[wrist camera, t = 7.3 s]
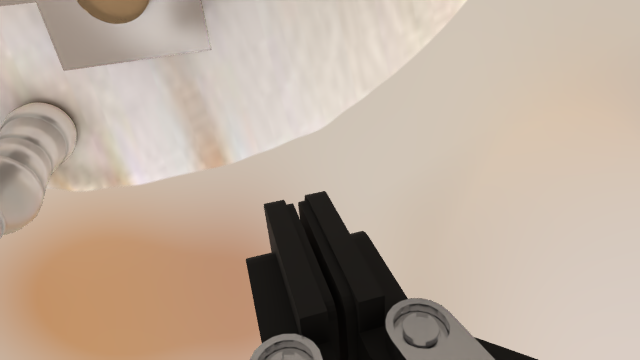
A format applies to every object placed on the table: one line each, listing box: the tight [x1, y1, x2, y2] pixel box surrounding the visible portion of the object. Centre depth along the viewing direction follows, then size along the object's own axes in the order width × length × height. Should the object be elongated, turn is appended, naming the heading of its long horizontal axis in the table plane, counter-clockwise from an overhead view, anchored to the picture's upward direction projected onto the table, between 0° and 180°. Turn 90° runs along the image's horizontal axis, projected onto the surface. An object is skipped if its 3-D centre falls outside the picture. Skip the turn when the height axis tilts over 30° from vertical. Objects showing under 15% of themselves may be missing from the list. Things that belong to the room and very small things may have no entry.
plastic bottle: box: [0, 102, 77, 238], centre depth 36 cm, size 6×7×20 cm
